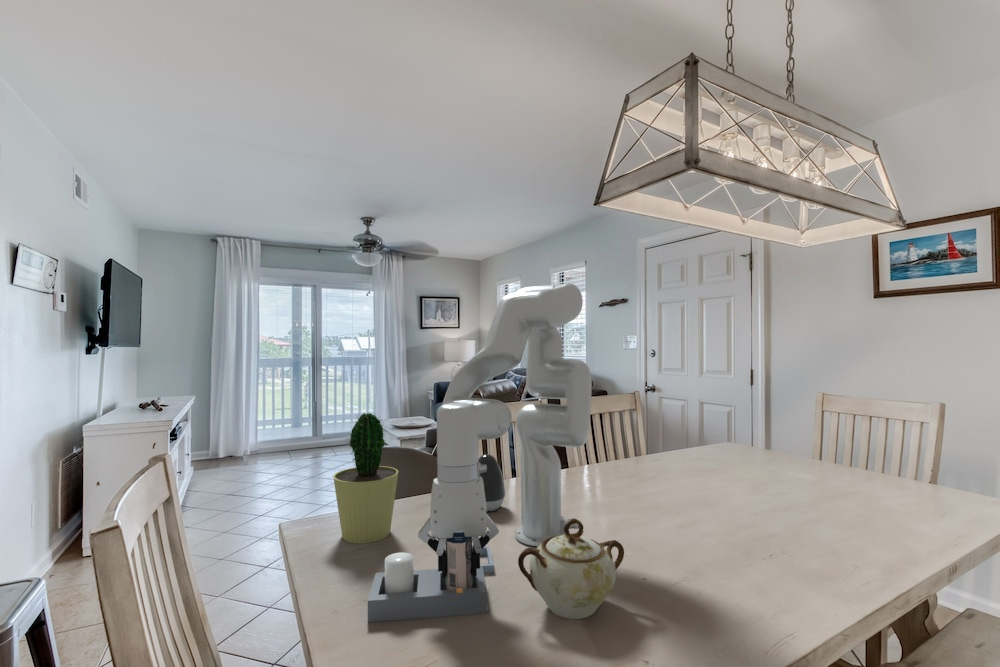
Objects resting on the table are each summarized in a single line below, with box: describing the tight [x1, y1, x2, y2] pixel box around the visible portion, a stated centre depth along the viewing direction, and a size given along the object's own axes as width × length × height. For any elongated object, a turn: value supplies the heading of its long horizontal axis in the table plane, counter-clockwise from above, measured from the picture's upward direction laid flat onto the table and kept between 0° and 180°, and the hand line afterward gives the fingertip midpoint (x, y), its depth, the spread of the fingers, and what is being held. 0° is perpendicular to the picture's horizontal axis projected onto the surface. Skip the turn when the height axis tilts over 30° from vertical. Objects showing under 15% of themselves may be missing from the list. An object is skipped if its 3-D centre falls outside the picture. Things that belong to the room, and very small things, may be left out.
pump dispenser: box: [478, 453, 506, 513], centre depth 136 cm, size 10×10×15 cm
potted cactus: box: [332, 412, 399, 544], centre depth 118 cm, size 15×15×30 cm
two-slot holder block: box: [367, 552, 489, 623], centre depth 86 cm, size 20×10×8 cm, turn 97°
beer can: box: [445, 530, 473, 590], centre depth 87 cm, size 5×5×12 cm
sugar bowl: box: [517, 518, 625, 620], centre depth 85 cm, size 20×15×15 cm
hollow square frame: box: [480, 546, 494, 574], centre depth 101 cm, size 9×9×2 cm
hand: (459, 572), depth 87 cm, fingers closed on beer can, 4 cm apart
